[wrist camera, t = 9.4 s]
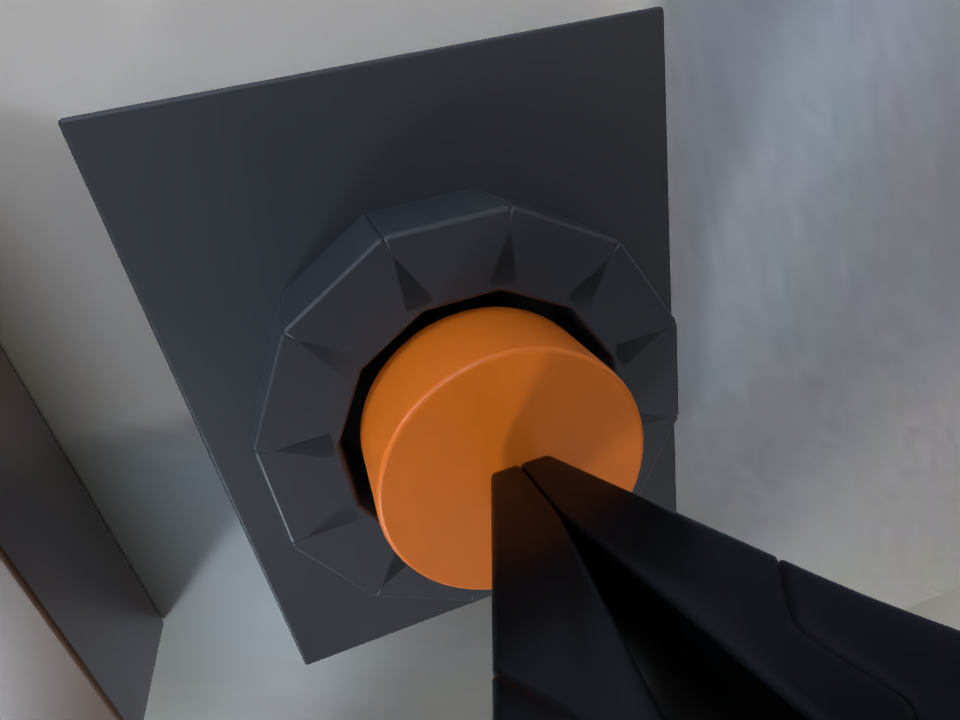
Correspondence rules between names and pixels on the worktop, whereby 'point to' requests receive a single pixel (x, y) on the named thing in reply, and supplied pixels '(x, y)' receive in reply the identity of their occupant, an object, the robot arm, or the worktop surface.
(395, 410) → the button
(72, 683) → the panel
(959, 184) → the worktop surface
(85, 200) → the worktop surface
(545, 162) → the housing
